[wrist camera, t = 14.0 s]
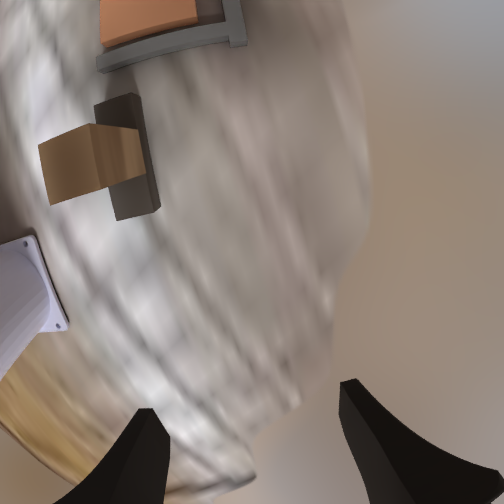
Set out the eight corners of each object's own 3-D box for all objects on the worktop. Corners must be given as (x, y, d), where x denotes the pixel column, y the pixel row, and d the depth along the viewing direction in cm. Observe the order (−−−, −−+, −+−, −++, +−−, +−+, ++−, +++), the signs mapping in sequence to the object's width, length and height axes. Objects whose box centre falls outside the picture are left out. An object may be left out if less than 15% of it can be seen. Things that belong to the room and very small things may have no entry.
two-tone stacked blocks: (126, 214, 17) (65, 259, 10) (105, 108, 15) (32, 93, 8) (162, 206, 18) (116, 247, 10) (141, 96, 15) (82, 68, 8)
